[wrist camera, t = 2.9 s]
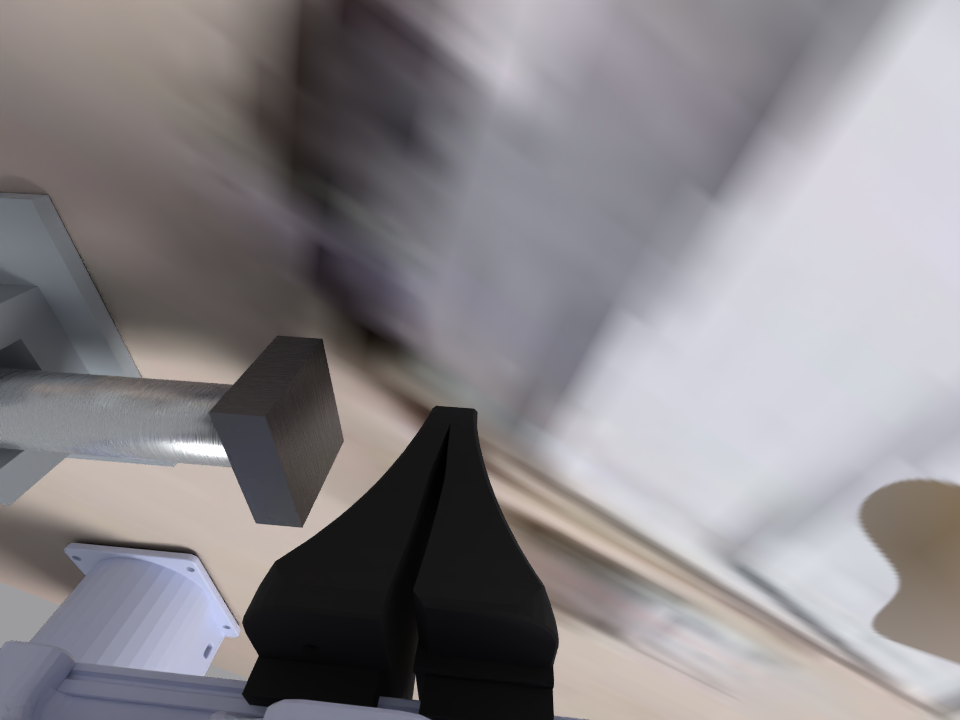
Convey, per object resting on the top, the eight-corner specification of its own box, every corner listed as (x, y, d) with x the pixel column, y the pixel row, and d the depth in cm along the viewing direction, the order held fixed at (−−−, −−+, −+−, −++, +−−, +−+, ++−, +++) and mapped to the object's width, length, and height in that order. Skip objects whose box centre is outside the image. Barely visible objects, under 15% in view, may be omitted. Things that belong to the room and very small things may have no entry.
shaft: (343, 441, 17) (302, 527, 14) (-32, 411, 18) (-152, 486, 15) (322, 338, 14) (265, 416, 11) (-117, 310, 15) (-286, 374, 12)
